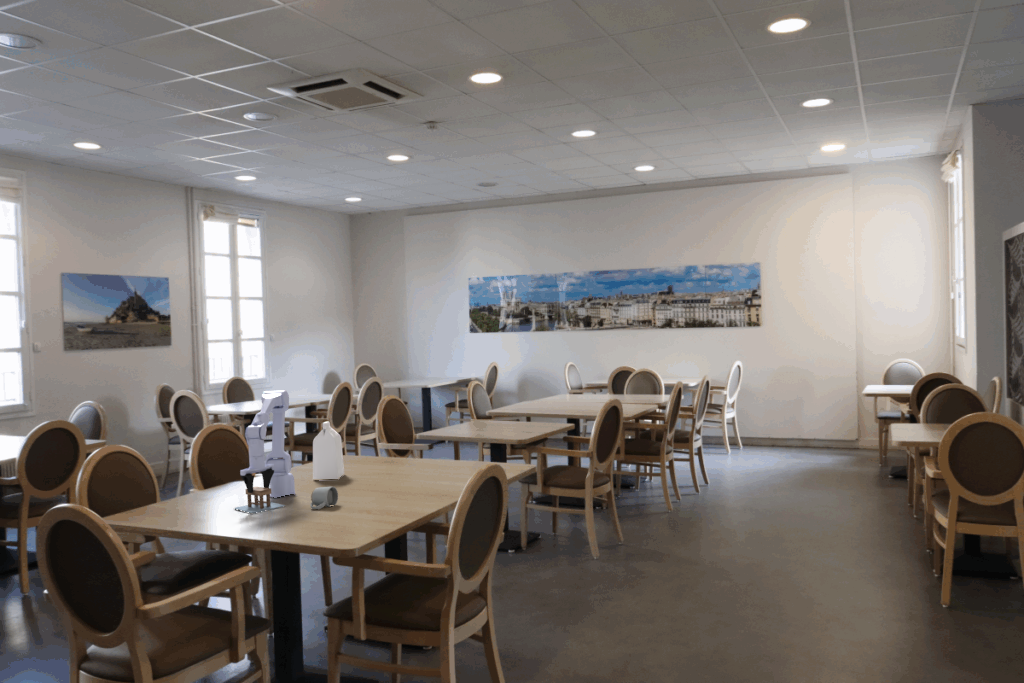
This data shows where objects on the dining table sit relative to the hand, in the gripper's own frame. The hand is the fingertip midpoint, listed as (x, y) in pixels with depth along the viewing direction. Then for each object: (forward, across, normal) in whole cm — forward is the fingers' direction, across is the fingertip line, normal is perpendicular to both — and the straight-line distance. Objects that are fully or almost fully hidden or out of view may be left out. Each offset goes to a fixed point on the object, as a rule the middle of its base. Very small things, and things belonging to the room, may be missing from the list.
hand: (258, 490), depth 298 cm
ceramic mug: (+7, -12, +23) cm, 27 cm away
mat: (+7, 0, 0) cm, 7 cm away
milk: (+7, -56, -21) cm, 60 cm away
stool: (+6, 0, 0) cm, 6 cm away
